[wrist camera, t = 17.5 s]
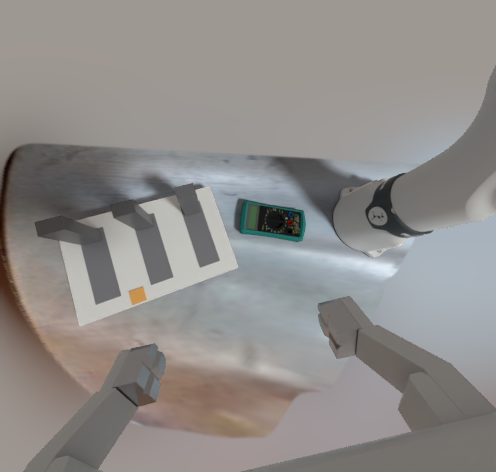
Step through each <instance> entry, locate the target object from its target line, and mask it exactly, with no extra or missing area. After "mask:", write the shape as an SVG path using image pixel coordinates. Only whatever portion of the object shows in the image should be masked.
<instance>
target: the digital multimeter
mask: <svg viewBox="0 0 496 472" xmlns="http://www.w3.org/2000/svg"><path fill="white" fill-rule="evenodd" d="M300 225H301V226H300ZM305 225H306V223H305V215H304V211H303V210H296V209H289V208H282V207H276V206H270V205H265V204H261V203H256V202H252V201H247V200H246V201H245V202H244V204H243V208H242V213H241V220H240V233H242V234H250V235H260V236H267V237H274V238H280V239H285V240H290V241H295V242H299V241H302V239H303V236H304V232H305ZM273 228H274V229H273ZM268 232H269V233H268ZM281 234H282V235H281ZM294 236H295V237H294Z"/></svg>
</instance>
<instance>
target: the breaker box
mask: <svg viewBox="0 0 496 472" xmlns="http://www.w3.org/2000/svg"><path fill="white" fill-rule="evenodd" d="M195 191H196V194H197V198H198V202H199V207H200V211H201V212H199V213H195V214H192V215H188V216H185V214H184V212H183V210H182V208H181V206H180V204H179V202H178V200H177V197H176V195H173V196H169V197H165V198H162V199H158V200H154V201H150V202H146V203H142V204H138V205H139V206H140V207H141V208H142V209H144V210H145V211H146V212H147V213H148V214H149V215H150V216H152V219H153V223H154V227H150V228H147V229H143V230H140V231H137V230H135V229H133V228H131V227H129V226H127V225H126V224H124V223H122V222H120V221H118V220H116V219H114V218H113V215H112V211H111V212H107V213H103V214H99V215H96V216H92V217H88V218H84V219H80V220H76V221H77V222H79V223H82V224H85V225H87V226H90V227H93V228H96V229H98V230H99V231H100V234H101V238H102V240H101V241H98V242H94V243H91V244H87V245H84V246H83V245H78V244H73V243H68V242H63V241H59V242H60V246H61V250H62V254H63V259H64V263H65V267H66V271H67V276H68V280H69V284H70V288H71V292H72V297H73V301H74V305H75V309H76V314H77V318H78V322H79V326H80V327H81V326H83V325H86V324H89V323H91V322H94V321H97V320H99V319H102V318H105V317H107V316H110V315H113V314H115V313H118V312H121V311H123V310H126V309H129V308H131V307H134V306H137V305H139V304H142V303H145V302H147V301H150V300H153V299H155V298H158V297H161V296H163V295H166V294H169V293H171V292H174V291H177V290H180V289H182V288H185V287H188V286H190V285H193V284H196V283H198V282H201V281H204V280H206V279H209V278H212V277H214V276H217V275H220V274H222V273H225V272H228V271H230V270H233V269H236V268H238V265H237V262H236V259H235V256H234V253H233V250H232V248H231V245H230V242H229V239H228V236H227V233H226V231H225V228H224V225H223V222H222V219H221V217H220V214H219V211H218V208H217V205H216V202H215V200H214V197H213V194H212V191H211V188H210V186H208V187H204V188H200V189H197V190H195Z"/></svg>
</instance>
